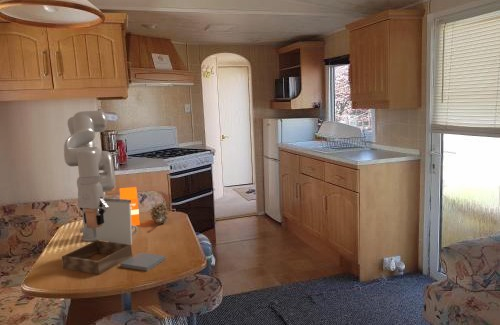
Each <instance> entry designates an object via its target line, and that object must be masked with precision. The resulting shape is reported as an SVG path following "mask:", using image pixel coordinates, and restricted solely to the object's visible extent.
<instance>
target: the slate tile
mask: <svg viewBox="0 0 500 325" xmlns="http://www.w3.org/2000/svg"><path fill="white" fill-rule="evenodd" d="M165 260H166V255H162V254H161V255H160V254H153V253H147V252H138V253H137V254H135V255H132V257H130V258H128V259H126V260H125V261H123V262H121V263H119V264H120V268H125V269H126V268H127V269H133V270H140V271H144V272H148V271H150V270H151V269H154V267H156V266H158V265H159V264H161V263H162V262H164V261H165ZM160 262H161V263H160ZM157 264H158V265H157Z"/></svg>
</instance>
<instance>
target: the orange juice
mask: <svg viewBox="0 0 500 325" xmlns="http://www.w3.org/2000/svg"><path fill="white" fill-rule="evenodd" d="M137 191H138V190H137V186H133V187H121V188H119V199H129V200H131V226H132V225H135V226H139V225H141V224H140V210H139V200H138V192H137Z"/></svg>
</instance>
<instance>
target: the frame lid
mask: <svg viewBox="0 0 500 325" xmlns="http://www.w3.org/2000/svg"><path fill="white" fill-rule="evenodd" d="M104 200H105V203H106V204H107V205H108V208H107V209H106V211H105V213H104V214H103V216H104V223H103V224H102V226H100V227H97V228H96V236H97V241H104V242H108V241H109V242H116V243H124V244H127V245H133V236H132V233H133V232H132V231H133V230H132V229H133V228H132V226H131V200H129V199H120V198H115V197H113V198H111V197H104Z"/></svg>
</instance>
